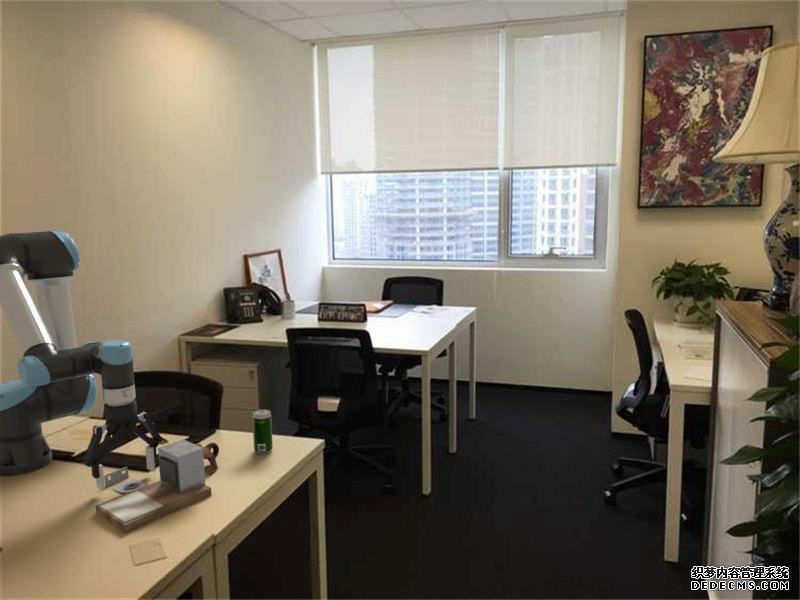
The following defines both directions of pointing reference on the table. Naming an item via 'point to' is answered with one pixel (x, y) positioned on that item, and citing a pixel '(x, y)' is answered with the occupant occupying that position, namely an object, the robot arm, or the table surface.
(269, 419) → the beer can
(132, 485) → the bracket
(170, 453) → the grey box
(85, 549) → the table surface
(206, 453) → the pottery mug
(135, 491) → the brown wooden flat board
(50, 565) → the table surface
